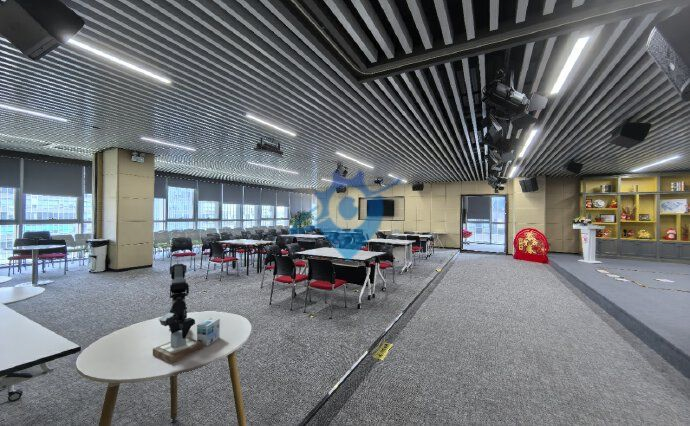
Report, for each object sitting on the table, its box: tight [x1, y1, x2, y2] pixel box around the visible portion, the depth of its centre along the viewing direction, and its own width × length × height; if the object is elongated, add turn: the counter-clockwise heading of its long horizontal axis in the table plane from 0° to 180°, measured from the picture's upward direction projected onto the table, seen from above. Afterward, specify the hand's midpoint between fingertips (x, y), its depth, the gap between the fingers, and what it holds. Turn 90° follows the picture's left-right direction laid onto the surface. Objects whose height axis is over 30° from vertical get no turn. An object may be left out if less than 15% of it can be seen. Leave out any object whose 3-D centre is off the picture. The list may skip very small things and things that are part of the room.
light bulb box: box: [196, 317, 221, 347], centre depth 154 cm, size 11×7×11 cm, turn 168°
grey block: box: [170, 330, 186, 348], centre depth 142 cm, size 5×5×6 cm
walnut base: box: [152, 336, 204, 364], centre depth 142 cm, size 16×16×3 cm
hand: (178, 336), depth 142 cm, fingers open, 9 cm apart
